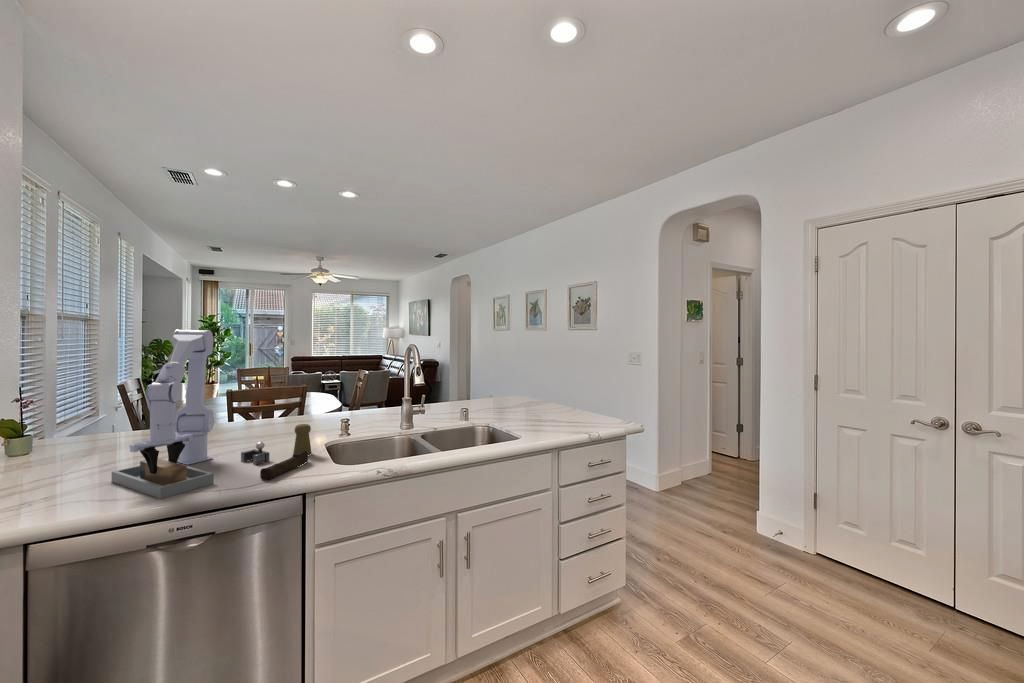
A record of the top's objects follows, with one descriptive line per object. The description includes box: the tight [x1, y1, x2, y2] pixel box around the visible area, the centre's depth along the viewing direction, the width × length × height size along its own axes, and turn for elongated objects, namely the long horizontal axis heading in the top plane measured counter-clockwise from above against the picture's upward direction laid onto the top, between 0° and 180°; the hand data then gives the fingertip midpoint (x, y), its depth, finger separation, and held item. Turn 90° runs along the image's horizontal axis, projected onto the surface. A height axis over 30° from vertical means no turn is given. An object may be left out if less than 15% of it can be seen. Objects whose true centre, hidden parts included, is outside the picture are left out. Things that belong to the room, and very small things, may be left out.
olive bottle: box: [292, 423, 312, 456], centre depth 152 cm, size 6×6×11 cm
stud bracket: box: [240, 441, 270, 465], centre depth 144 cm, size 8×5×6 cm, turn 64°
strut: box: [139, 457, 188, 486], centre depth 122 cm, size 4×16×5 cm, turn 64°
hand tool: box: [259, 451, 309, 481], centre depth 135 cm, size 19×4×5 cm, turn 167°
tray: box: [111, 463, 215, 500], centre depth 122 cm, size 26×13×3 cm, turn 64°
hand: (162, 470), depth 122 cm, fingers closed on strut, 4 cm apart
